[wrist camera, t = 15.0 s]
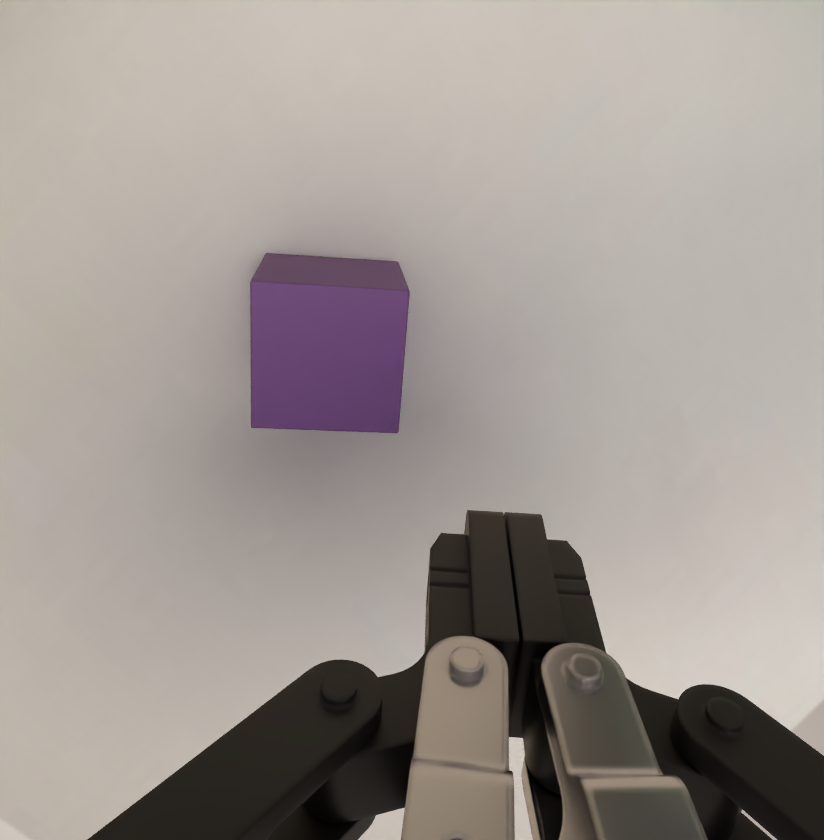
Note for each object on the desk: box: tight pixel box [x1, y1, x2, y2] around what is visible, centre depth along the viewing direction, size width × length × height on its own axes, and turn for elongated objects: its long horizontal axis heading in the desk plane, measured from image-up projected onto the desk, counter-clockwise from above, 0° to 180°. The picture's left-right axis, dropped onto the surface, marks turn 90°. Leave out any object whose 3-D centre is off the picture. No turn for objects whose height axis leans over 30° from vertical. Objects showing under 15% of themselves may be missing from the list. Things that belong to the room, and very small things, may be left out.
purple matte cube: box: [250, 253, 409, 433], centre depth 21 cm, size 4×4×4 cm
